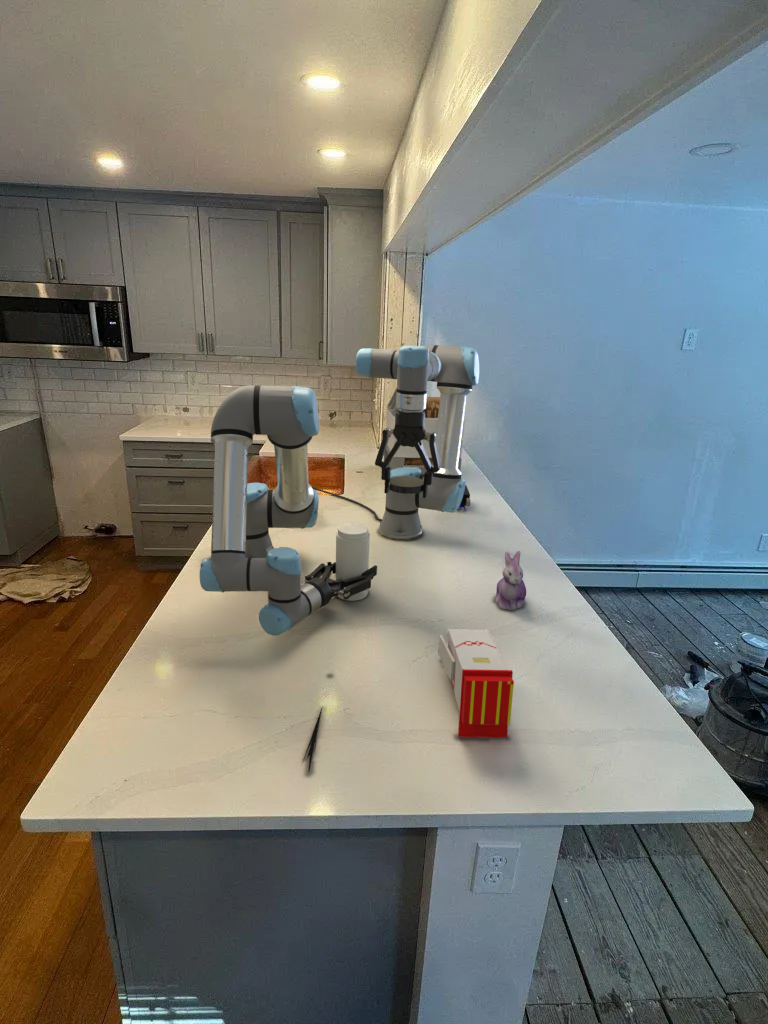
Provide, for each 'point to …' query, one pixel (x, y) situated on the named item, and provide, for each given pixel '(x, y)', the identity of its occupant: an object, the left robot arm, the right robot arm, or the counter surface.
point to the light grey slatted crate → (410, 454)
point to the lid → (405, 484)
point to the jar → (352, 554)
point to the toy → (478, 682)
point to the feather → (313, 740)
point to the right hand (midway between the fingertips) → (405, 494)
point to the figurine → (511, 584)
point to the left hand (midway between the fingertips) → (361, 565)
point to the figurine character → (465, 499)
